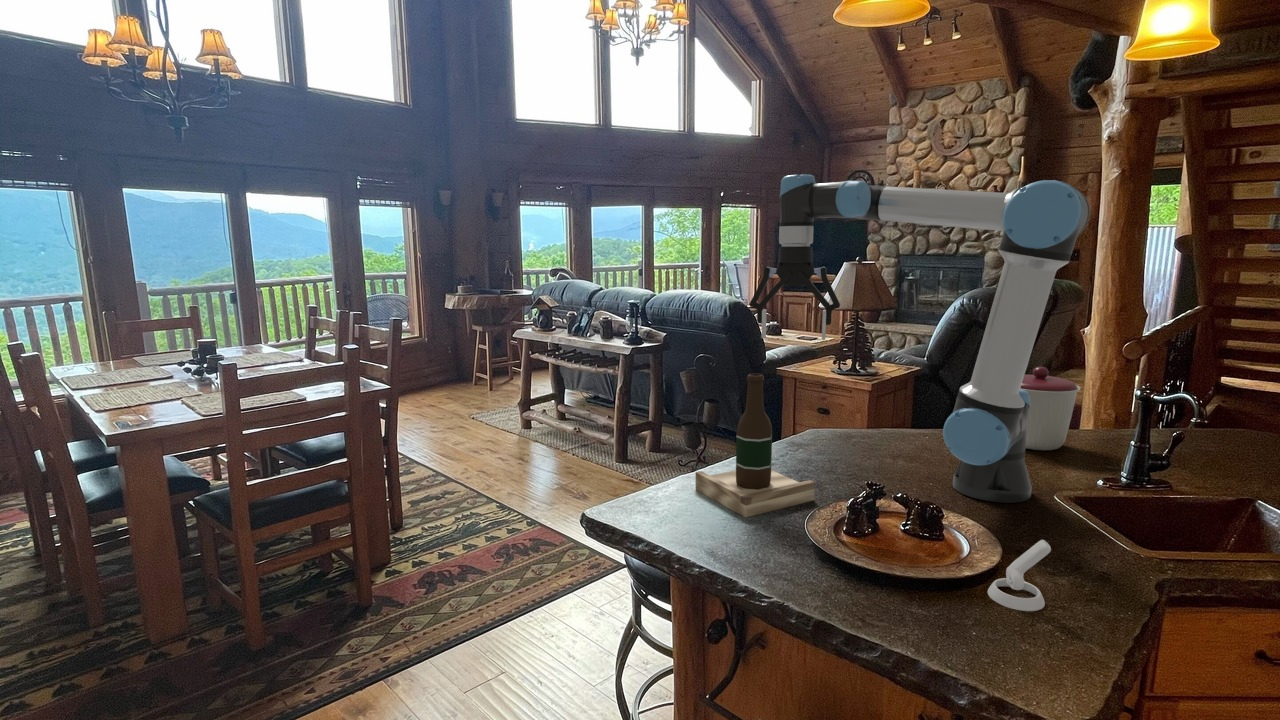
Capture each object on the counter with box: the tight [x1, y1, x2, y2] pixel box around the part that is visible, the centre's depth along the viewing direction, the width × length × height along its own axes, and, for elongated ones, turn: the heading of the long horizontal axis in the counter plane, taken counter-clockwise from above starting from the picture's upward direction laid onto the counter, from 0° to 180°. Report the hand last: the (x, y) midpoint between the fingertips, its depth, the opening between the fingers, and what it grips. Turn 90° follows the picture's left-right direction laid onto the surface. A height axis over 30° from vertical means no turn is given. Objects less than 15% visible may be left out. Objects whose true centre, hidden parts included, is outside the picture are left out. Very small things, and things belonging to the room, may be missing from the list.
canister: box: [1020, 366, 1082, 451], centre depth 177 cm, size 18×18×21 cm
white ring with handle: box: [987, 539, 1052, 612], centre depth 102 cm, size 8×12×7 cm
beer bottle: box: [735, 372, 773, 490], centre depth 144 cm, size 8×8×24 cm
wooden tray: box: [695, 469, 815, 518], centre depth 146 cm, size 18×18×4 cm
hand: (793, 338), depth 157 cm, fingers open, 13 cm apart
